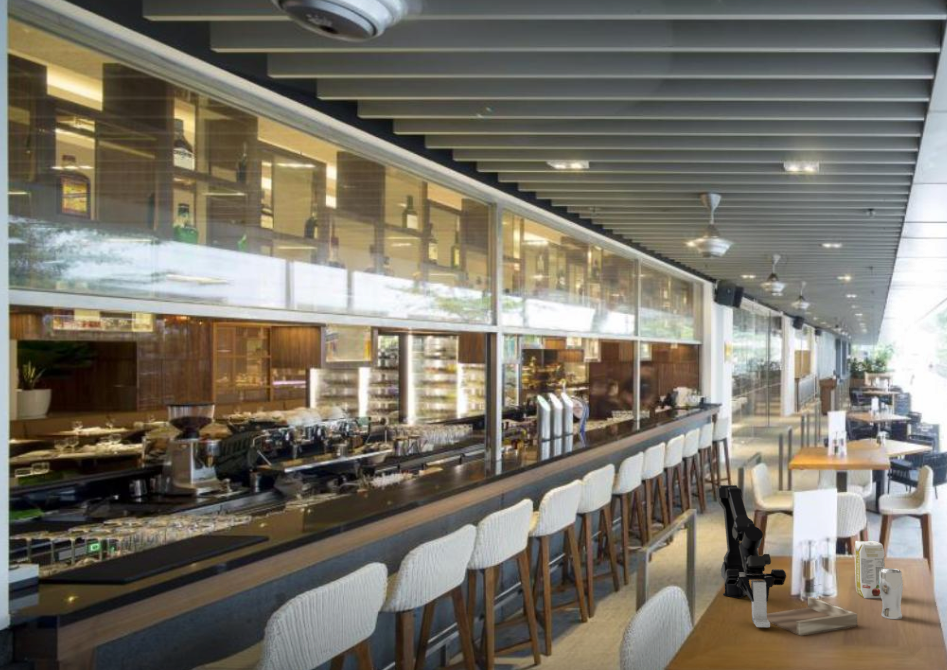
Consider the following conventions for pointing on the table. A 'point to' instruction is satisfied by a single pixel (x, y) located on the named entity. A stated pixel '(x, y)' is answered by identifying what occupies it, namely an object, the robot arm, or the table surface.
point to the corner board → (814, 618)
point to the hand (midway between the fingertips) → (760, 601)
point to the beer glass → (891, 592)
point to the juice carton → (868, 568)
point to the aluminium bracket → (759, 603)
